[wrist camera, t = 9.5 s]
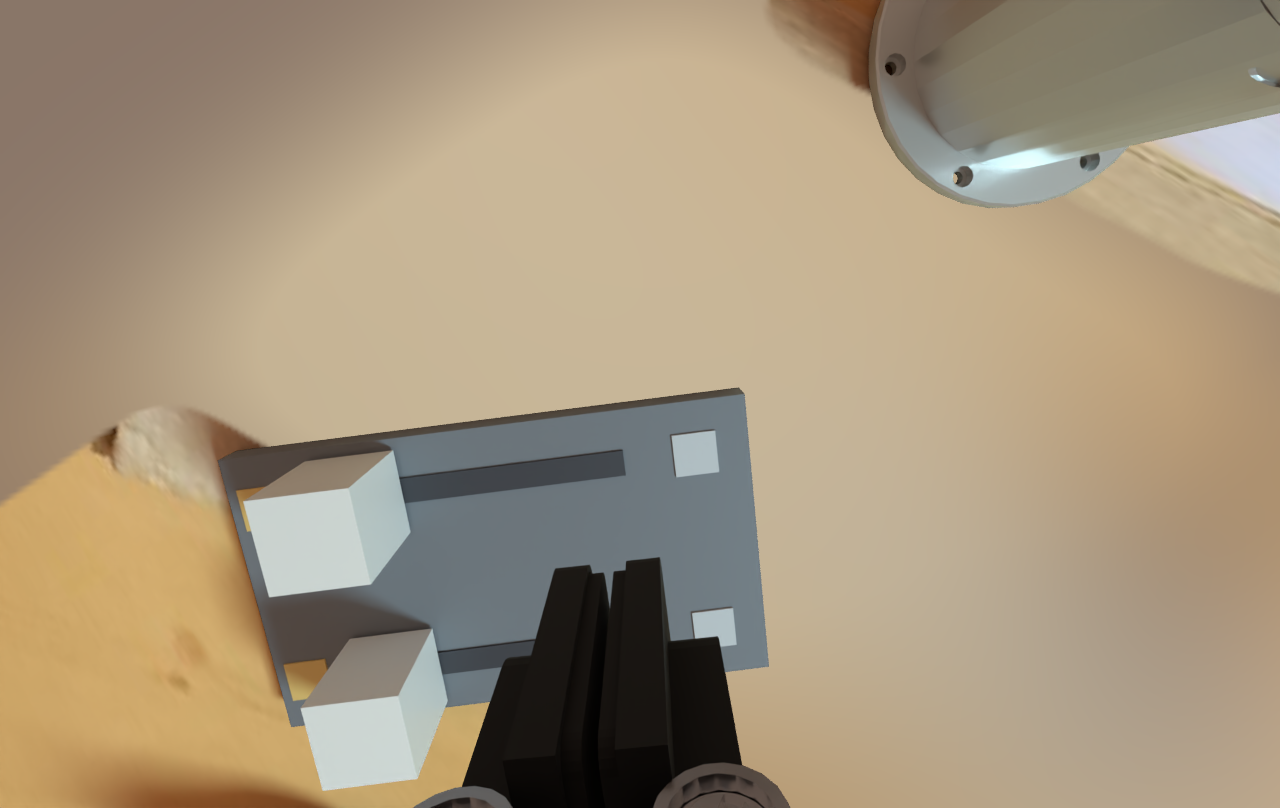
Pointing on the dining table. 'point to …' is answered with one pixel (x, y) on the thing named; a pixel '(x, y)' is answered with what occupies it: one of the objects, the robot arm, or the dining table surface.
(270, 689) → the dining table surface
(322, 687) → the tab far
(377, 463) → the tab near
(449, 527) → the switch panel
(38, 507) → the dining table surface
